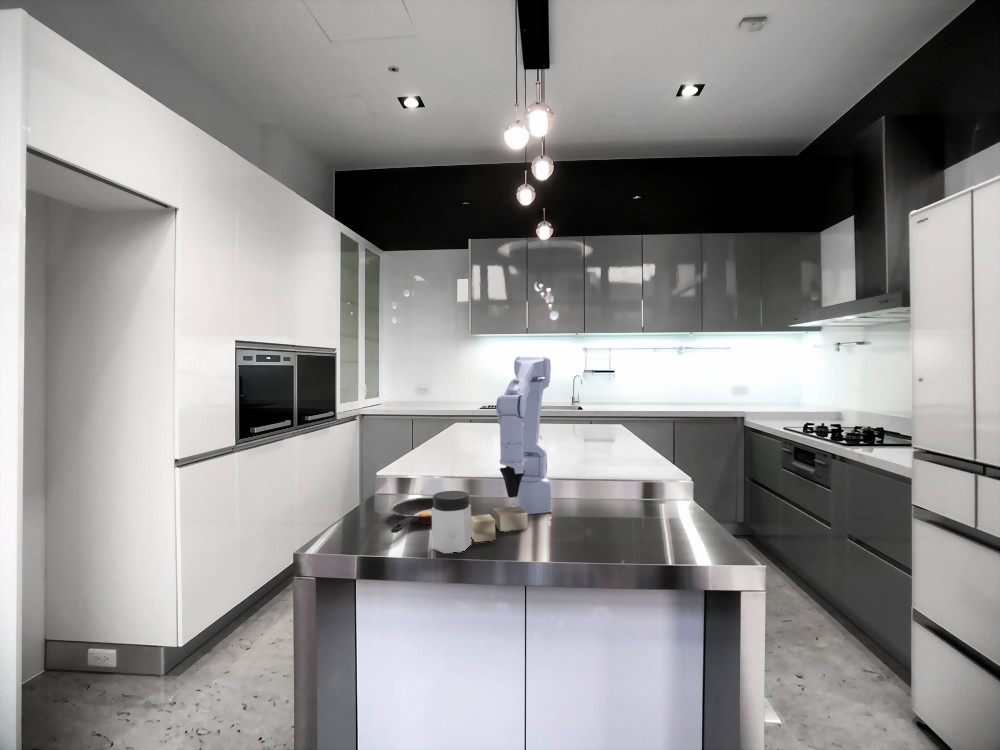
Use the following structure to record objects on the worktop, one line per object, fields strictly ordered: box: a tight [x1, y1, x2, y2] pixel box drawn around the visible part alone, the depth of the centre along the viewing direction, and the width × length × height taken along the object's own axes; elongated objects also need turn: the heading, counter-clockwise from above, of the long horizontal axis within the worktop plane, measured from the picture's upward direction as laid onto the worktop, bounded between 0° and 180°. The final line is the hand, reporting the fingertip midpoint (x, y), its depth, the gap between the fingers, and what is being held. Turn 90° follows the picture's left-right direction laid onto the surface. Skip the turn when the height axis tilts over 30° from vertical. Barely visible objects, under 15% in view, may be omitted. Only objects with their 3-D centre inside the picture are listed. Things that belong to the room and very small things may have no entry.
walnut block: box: [492, 505, 529, 532], centre depth 136 cm, size 7×4×7 cm
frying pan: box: [389, 496, 433, 534], centre depth 139 cm, size 19×32×4 cm, turn 169°
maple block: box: [471, 514, 496, 543], centre depth 127 cm, size 5×5×5 cm
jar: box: [431, 490, 472, 554], centre depth 121 cm, size 9×8×12 cm
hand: (512, 496), depth 133 cm, fingers closed
